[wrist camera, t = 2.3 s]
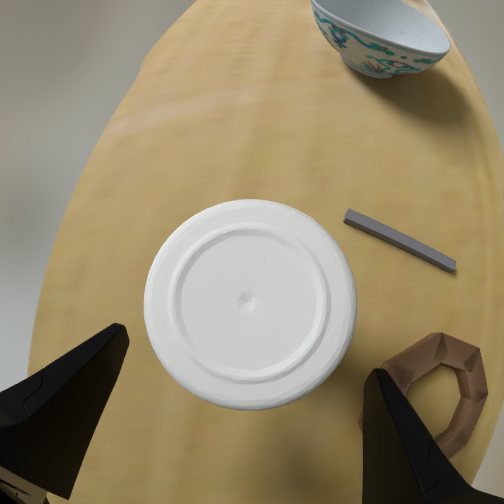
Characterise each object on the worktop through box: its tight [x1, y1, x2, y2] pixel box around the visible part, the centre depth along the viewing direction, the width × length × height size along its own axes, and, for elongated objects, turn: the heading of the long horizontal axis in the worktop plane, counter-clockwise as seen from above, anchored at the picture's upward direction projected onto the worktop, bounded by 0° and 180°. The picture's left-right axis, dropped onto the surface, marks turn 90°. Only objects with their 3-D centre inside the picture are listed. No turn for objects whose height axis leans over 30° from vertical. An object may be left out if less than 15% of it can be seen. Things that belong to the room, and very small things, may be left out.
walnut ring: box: [358, 333, 488, 459], centre depth 15 cm, size 11×11×2 cm
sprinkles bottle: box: [144, 199, 357, 410], centre depth 12 cm, size 5×4×14 cm
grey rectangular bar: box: [343, 209, 456, 272], centre depth 19 cm, size 10×1×1 cm, turn 66°
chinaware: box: [311, 0, 451, 79], centre depth 21 cm, size 15×15×8 cm
